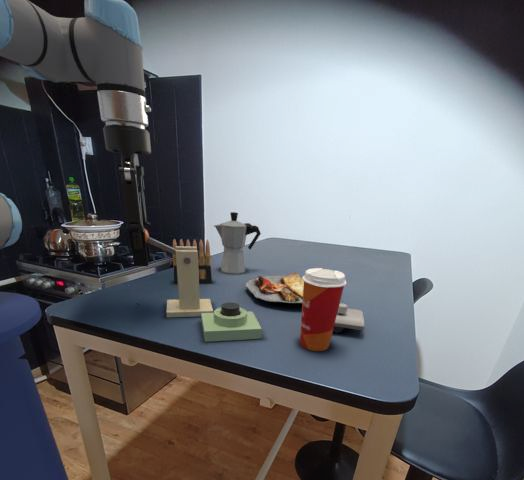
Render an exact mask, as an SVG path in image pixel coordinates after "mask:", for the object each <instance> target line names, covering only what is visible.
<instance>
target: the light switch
mask: <svg viewBox="0 0 524 480" xmlns="http://www.w3.org/2000/svg"><path fill="white" fill-rule="evenodd" d="M365 326H366V325H365V319H364V312H363V310H361V309H356V308H349V307H348V305H347V304H345V303H341V302H340V304H339V308H338V312H337V316H336V320H335V324H334V328H333V333H340V332H343V331H344V329H352V330H358V331H359V330H360V331H364V330H365Z"/></svg>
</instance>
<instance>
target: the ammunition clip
mask: <svg viewBox="0 0 524 480" xmlns="http://www.w3.org/2000/svg"><path fill="white" fill-rule="evenodd" d="M198 243H199V244H198V245H197V241H196V239H193V241H192V247H197V248H198V271H199V284H212V283H213V278H212V277H213V276H212V256H211V248H210V247H211V246H210V242H209V239H206V241H205V247H204V242H203V240H202V239H199V242H198ZM184 245H185V244H184V241H183V239H182V238H181V239H180V240H179V246H184ZM176 246H178V245H177V241H176V238H174V239H173V240H172V248H174V249H176ZM185 246H191V242H190V239H186V245H185ZM204 248H205V250H204ZM172 268H173V284H177V285H178V277H177V263H176V255H174V254H172Z"/></svg>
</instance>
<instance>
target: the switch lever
mask: <svg viewBox="0 0 524 480" xmlns="http://www.w3.org/2000/svg"><path fill="white" fill-rule="evenodd" d="M143 231H145V239H146V243H149V245H152V246H155V248H159V249H161V250H163V251H165V252H167V253H170V254H172V255H173V254H174V255H176V249H174V248H173V246H170V245H167V244H166V243H164V242H161V241H159V240H157V239H154V238H153V237H151V236H150V234H149V231H148V229H147V230H146V229H145V228H144V230H143ZM147 231H148V232H147ZM182 250H185V249H182Z"/></svg>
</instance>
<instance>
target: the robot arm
mask: <svg viewBox="0 0 524 480" xmlns="http://www.w3.org/2000/svg"><path fill="white" fill-rule="evenodd" d="M83 1H84V3H83V4H84V5H83V6H84V11H83V12H84V17H74V18H73V17H59V16H55V15H53V14H50V13H49V12H47V11H46V10H45V9H42V8H41V7H39V6H38V5H36V4H35V3H33V2H32V1H30V0H0V57H2V58H4V59H7V60H10V61H13V62H15V63H17V64H19V65H20V66H21V67H22V68H24V70H25V71H27V74H29V75H30V76H31V77H33V78H35V79H37V80H41V81H50V82H52V83H60V82H82V83H95V85H96V91H97V100H98V106H99V114H100V120H101V121H102V122H103V123H104V124H105V125H104V126H103V128H102V131H103V138H104V145H105V149H106V151H108V152H109V153H114V154H115V153H116V154H120V164H117V167H118V168H117V171H118V174H119V178H120V184H121V191H122V200H123V205H124V213H125V221H126V226H125V227H123V228H124V232H126V233H127V232H128V233H129V240H130V247H131V248H130V249H131V255H132V264H133V267H149V260H151V251H150V249H151V248H150V243H146V239H145V231H143V230H144V228H145V229H146V230H147V232H148V233H149V231H148V227H151V222H150V221H148V217H147V210H146V209H147V208H146V201H145V199H146V198H145V193H144V191H145V181H144V176H145V172H144V171H145V170H144V166H141V165H140V162H139V156H138V155H140V156H149V155H151V154H152V146H151V135H150V132H149V131H148V130H147V129H146V128H147V127H148V126H149V117H148V114H147V113H151V112H152V108H151V106H150V105H147V93H146V86H145V85H146V84H145V73H144V72H145V71H144V60H143V49H144V48H143V45H142V40H141V31H140V25H139V18H138V14H137V13H136V11H135V9H134V8H133V7H132V6H131V5H130V4H129V3H128V2H127V1H125V0H83ZM22 230H23V220H22V216H21V213H20V211H19V208H18V207H17V205H16V204H15V203H14V201H13V200H12V199H11V198H8V197H7V195H5V194H4V193H2V192H0V250H2V249H3V248H6V247H10V246H12V245H14V244H15V243H16V242H17V241H18V240H19V238H20V235H21V233H22Z"/></svg>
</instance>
